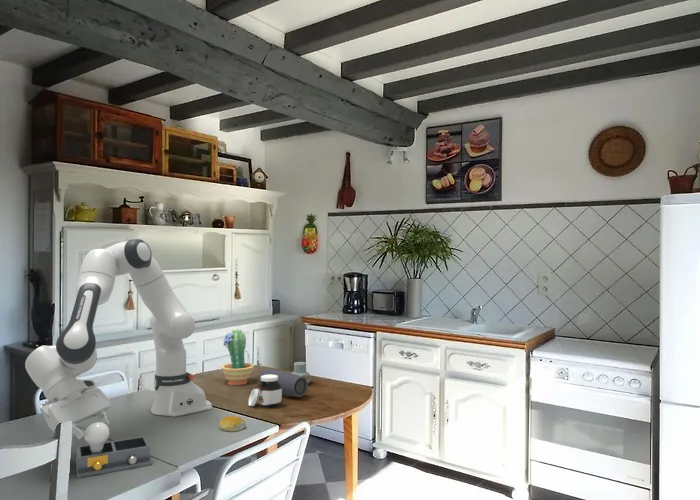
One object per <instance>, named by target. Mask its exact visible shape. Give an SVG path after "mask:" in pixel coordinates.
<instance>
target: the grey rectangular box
mask: <svg viewBox="0 0 700 500" xmlns="http://www.w3.org/2000/svg"><path fill="white" fill-rule="evenodd" d="M152 464H153V461H152V458H151V445H150V443H149V441H148V440H147V436H145V435H144V436H138V437H131V438H124V439H118V440H112V441H106V442H105V443H104V446H103V449H102V453H101V454H95V455H92V453H91V450H90V446H89V444H85V445H80V446H76V458H75V468H76V469H75V470H76V471H75V472H76V478H77V479H80V478H85V477H92V476H97V475H103V474H107V473H113V472H118V471H124V470H129V469H136V468H141V467H146V466H151V465H152Z"/></svg>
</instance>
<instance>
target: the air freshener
mask: <svg viewBox="0 0 700 500" xmlns="http://www.w3.org/2000/svg"><path fill="white" fill-rule="evenodd" d="M291 373H292V374H296V375H299V376H302V377H304V378H305V379H306V380H307V383H308V384H309V383H310V382H311V380H312V375H311V374H310V373H309V372H308V371H307V363H306V362H304V361H296V362H294V363H293V371H292V372H291Z"/></svg>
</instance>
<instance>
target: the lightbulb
mask: <svg viewBox="0 0 700 500" xmlns="http://www.w3.org/2000/svg"><path fill="white" fill-rule="evenodd" d="M84 431H85V432H86V436H85V437H84V440H85V442H86V443H87V445H89V446H90V450H91V453H92V455H95V454H101V453H102V449H103V446H104V443H105V442H107V440H108V438H109V436H110V428H109V425H108V426H107V425H106V424H105V423H102V422H101V421H96V422H92V423H91V424H90V425H88V427H86V429H85V430H84Z"/></svg>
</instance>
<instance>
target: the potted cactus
mask: <svg viewBox="0 0 700 500" xmlns="http://www.w3.org/2000/svg"><path fill="white" fill-rule="evenodd" d="M246 343H247V338H246V335H245V333H244V332H243V331H242V329H236V330H235V329H232V331H231V332H228V333H226V335H224V337H223V345H224V346H227V350H228V352H229V356H230V363H225V364H223V365H221V370H222V372H223V373H224V377H225V378H226V379H227V384H228V385H231V386H241V385H246V384H247V383H248V379H249V377H250V376H251V374H252V371H253V370H254V367H255V364H253V363H249V362H246V361H245V360H246V359H245V350H246Z"/></svg>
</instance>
